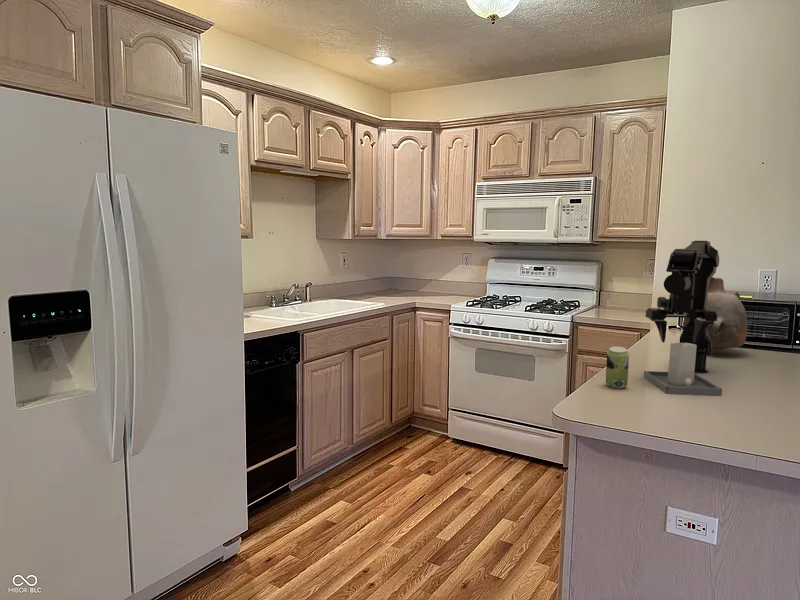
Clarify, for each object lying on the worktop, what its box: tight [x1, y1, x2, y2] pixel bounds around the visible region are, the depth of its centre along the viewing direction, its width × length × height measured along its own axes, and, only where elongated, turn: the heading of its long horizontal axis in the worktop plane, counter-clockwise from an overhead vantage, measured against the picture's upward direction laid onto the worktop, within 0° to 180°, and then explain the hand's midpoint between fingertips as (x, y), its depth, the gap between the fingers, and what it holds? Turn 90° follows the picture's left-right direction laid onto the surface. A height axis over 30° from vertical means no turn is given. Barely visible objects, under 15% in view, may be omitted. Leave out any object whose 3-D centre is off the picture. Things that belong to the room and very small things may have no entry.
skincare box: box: [667, 342, 697, 385], centre depth 161 cm, size 6×4×12 cm
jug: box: [682, 275, 748, 354], centre depth 208 cm, size 24×21×30 cm
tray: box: [643, 370, 723, 397], centre depth 162 cm, size 15×18×4 cm
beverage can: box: [605, 346, 630, 389], centre depth 159 cm, size 6×7×12 cm
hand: (678, 342), depth 163 cm, fingers open, 9 cm apart
